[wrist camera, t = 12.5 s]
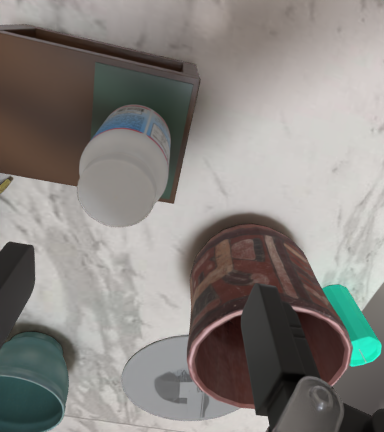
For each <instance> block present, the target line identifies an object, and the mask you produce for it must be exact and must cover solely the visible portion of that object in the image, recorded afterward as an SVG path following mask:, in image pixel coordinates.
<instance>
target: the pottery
mask: <svg viewBox="0 0 384 432" xmlns="http://www.w3.org/2000/svg"><path fill="white" fill-rule="evenodd" d="M255 283H260V284H266V285H273V286H276V287H277V289H278V291H279V294H280V297H281V300H282V301H285V302H288V303H289V304H290V305H291V307H292V308H293V309H294V310H295V312H296V313H297V315H298V317H299V320H300V323H301V325H302V327H301V328H302V329H303V331H304V334H305V339H307V342H308V344H309V347H310V350H311V353H312V355H313V358H314V361H315V363H316V366H317V369H318V372H319V374H320V377H321V379H322V380H324V381H325V382H327V383H328V384H329V385H331V386H332V385H334V384H335V383H336V382H337V381H338V379H340V377H341V376H342V375H343V373H344V372H345V371H346V370H347V368H348V367H349V366H350V361H351V356H352V351H353V346H352V343H351V340H350V337H349V334H348V331H347V329H346V327H345V325H344V324H343V322H342V320H341V319H340V317H339V316H338V314H337V313H336V311H335V310H334V308H333V306H332V305H331V303H330V302H329V300H328V299H327V297H326V295H325V293H324V292H323V290H322V288H321V286H320V285H319V283H318V281H317V279H316V277H315V275H314V273H313V271H312V269H311V266H310V264H309V262H308V260H307V258H306V256H305V255H304V253H303V251H302V250H301V249H300V248H299V247H298V246H297V245H296V244H295V243H294V242H293V241H292V240H291V239H290V238H289V237H287V236H285V235H283V234H281V233H279V232H277V231H275V230H274V229H271V228H269V227H265V226H261V225H256V224H244V225H237V226H234V227H231V228H228V229H225V230H223V231H221V232H220V233H218V234H216V235H215V236H213V237H212V238H211V239H210V240H209V241H208V242H207V244H206V245H205V246H204V247H203V248H202V250H201V251H200V252H199V253H198V255H197V256H196V258H195V261H194V265H193V268H192V272H191V276H190V291H191V319H190V331H189V338H188V345H187V364H188V369H189V374H190V377H191V379H192V380H193V381H194V383H195V384H196V385H197V386H198V388H199V389H200V390H201V391H203V392H204V393H206V394H207V395H209V396H210V397H212V398H213V399H215V400H217V401H220V402H223V403H226V404H229V405H232V406H235V407H238V408H251V409H255V406H254V400H253V394H252V388H251V382H250V377H249V371H248V365H247V359H246V353H245V347H244V342H243V336H242V330H241V316H242V311H243V309H244V306H245V304H246V302H247V300H248V297H249V295H250V293H251V290H252V288H253V286H254V284H255Z"/></svg>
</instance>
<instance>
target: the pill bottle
mask: <svg viewBox="0 0 384 432" xmlns="http://www.w3.org/2000/svg"><path fill="white" fill-rule="evenodd" d="M170 144H171V138H170V132H169V129H168V126H167V124H166V123H165V121H164V120H163V118H162V117H161V116H160V115H159V114H158V113H157V112H155V111H154V110H152V109H150V108H148V107H146V106H142V105H134V104H133V105H125V106H122V107H120V108H118V109H116V110H115V111H113V112H112V113H111V114H110V115H109V116H108V118H107V119H106V120H105V122H104V123H103V124H102V126H101V127H100V128H99V130H98V131H97V132H96V134H95V135H94V136H93V138H92V139H91V140H90V142H89V143H88V144H87V146H86V147H85V149H84V151H83V153H82V155H81V159H80V164H79V175H80V179H79V181H78V186H77V194H78V199H79V202H80V204H81V206H82V208H83V209H84V210H85V212H86V213H87V214H88V215H89V216H90V217H92V218H93V219H94V220H96V221H98V222H99V223H102V224H104V225H107V226H111V227H128V226H132V225H135V224H137V223H139V222H141V221H142V220H143V219H145V218H146V217H147V216H148V214H149V213H150V212H151V210H152V208H153V205H154V204H155V203H156V202H157V201H158V200H159V198H160V197H161V196H162V194H163V192H164V191H165V188H166V185H167V181H168V172H169V159H170Z"/></svg>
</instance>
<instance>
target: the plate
mask: <svg viewBox="0 0 384 432" xmlns="http://www.w3.org/2000/svg"><path fill="white" fill-rule="evenodd" d="M188 338H189V335H184V336H177V337H171V338H167V339H163V340H160V341H157V342H154V343H152V344H150V345H148V346H146V347H145V348H143V349H141V350H140V351H138V352H137V353H136V354H135V355H133V356H132V357H131V359H130V360H129V361H128V362H127V364H126V366H125V368H124V370H123V373H122V387H123V390H124V392H125V394H126V395H127V397H128V398H129V399H130V400H131V401H132V402H133V403H134V404H135V405H136V406H138V407H139V408H141V409H142V410H144V411H146V412H148V413H150V414H153V415H155V416H158V417H162V418H166V419H171V420H179V421H200V420H207V419H213V418H217V417H221V416H224V415H227V414H229V413H231V412H234V411H236V410H238V409H239V408H238V407H235V406H232V405H229V404H226V403H223V402H220V401H217V400H215V399H213V398H212V397H210V396H209V395H207V394H206V393H204V392H203V391H201V390H200V389H199V388H198V386H197V385H196V384H195V383H194V381H193V380H192V379H191V377H190V374H189V369H188V364H187V345H188Z"/></svg>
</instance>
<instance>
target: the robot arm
mask: <svg viewBox="0 0 384 432" xmlns="http://www.w3.org/2000/svg"><path fill="white" fill-rule="evenodd" d="M34 284H35V257H34V247H33V246H32V245H27V244H21V243H15V242H8V243H7V244H6V245H5V246H4V247H3V249H2V250H1V251H0V349H1V347H2V346H3V344H4V342H5V340H6V338H7V337H8V335H9V333H10V331H11V330H12V328H13V326H14V324H15V322H16V321H17V319H18V317H19V315H20V314H21V312H22V310H23V308H24V306H25V305H26V303H27V301H28V299H29V298H30V296H31V294H32V291H33V288H34ZM301 327H302V325H301V323H300V320H299V317H298V315H297V313H296V312H295V310H294V309H293V308H292V307H291V305H290V304H289V303H288V302H285V301H282V300H281V297H280V294H279V291H278V289H277V287H276V286H273V285H266V284H260V283H255V284H254V286H253V288H252V290H251V293H250V295H249V297H248V300H247V302H246V304H245V306H244V309H243V311H242V316H241V330H242V336H243V342H244V347H245V353H246V359H247V365H248V371H249V377H250V382H251V388H252V394H253V400H254V406H255V411H256V415H261V416H268V420H269V425H270V426H269V427H268V429H267V430H266V432H384V409H379V410H377V411H376V412H375V413H374V414H373V415H372V416H371V415H369V414H366V413H364V412H362V411H360V410H358V409H355V408H353V407H351V406H349V405H347V404H344V403H343V402H342V400H341V398H340V396H339V395H338V393H337V392H336V391H335V390H334V388H333V387H332V386H331V385H329V384H328V383H327V382H325V381H324V380H322V379H321V377H320V374H319V372H318V369H317V366H316V363H315V361H314V358H313V355H312V353H311V350H310V347H309V344H308V342H307V339H305V334H304V331H303V329H302V328H301Z"/></svg>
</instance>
